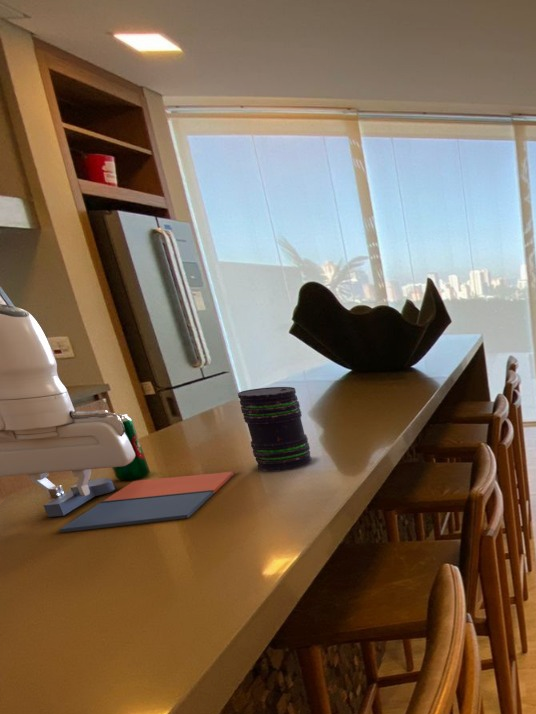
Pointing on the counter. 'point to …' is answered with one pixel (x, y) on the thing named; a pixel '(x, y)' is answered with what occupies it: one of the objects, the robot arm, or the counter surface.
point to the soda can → (139, 464)
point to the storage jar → (275, 428)
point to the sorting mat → (151, 502)
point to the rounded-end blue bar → (71, 502)
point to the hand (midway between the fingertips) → (69, 496)
